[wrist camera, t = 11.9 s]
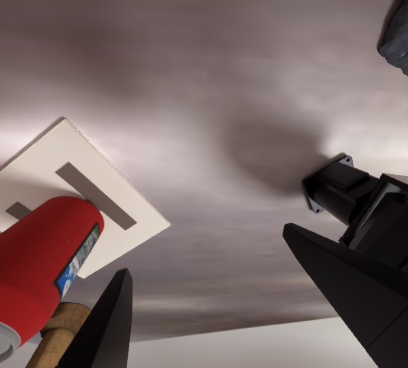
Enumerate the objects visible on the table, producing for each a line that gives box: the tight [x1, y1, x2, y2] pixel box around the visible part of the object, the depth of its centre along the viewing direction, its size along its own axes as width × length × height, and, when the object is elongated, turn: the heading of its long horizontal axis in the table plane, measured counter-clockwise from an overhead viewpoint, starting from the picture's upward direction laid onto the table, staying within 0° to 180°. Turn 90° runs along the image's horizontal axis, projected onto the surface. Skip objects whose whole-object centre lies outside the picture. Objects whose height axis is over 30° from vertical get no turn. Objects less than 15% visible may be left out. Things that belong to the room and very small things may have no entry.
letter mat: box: [0, 119, 171, 279], centre depth 20 cm, size 16×16×1 cm
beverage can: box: [0, 196, 104, 363], centre depth 15 cm, size 7×7×12 cm
